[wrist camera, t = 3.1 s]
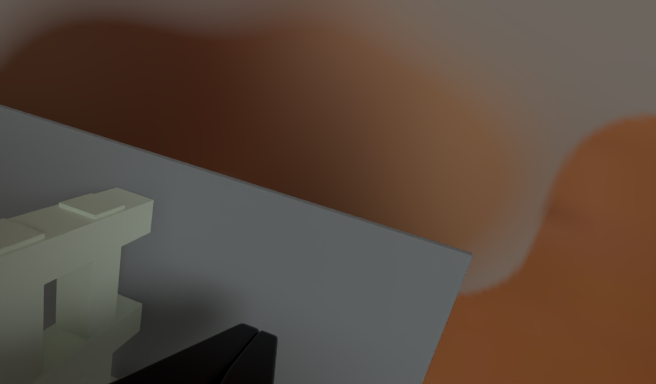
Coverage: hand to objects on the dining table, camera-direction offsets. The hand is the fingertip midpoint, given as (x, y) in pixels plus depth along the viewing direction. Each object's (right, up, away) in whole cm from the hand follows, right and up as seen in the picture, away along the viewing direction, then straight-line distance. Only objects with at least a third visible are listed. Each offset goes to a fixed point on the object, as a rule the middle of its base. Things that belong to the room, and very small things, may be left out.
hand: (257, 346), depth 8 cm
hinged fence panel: (-5, 0, +4) cm, 6 cm away
